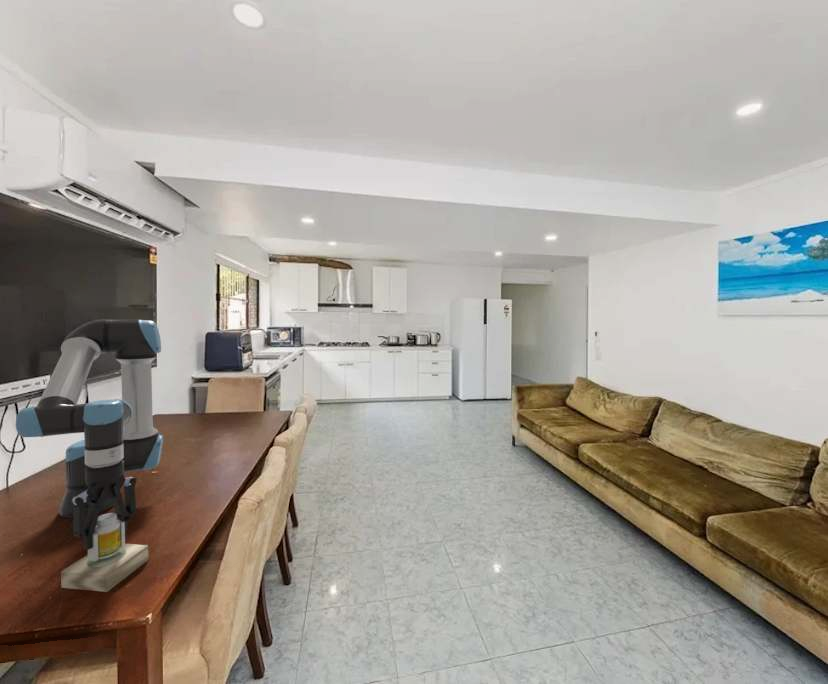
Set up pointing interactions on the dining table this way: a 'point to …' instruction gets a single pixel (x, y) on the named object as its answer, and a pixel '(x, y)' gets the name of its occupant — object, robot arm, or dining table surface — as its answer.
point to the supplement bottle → (108, 535)
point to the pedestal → (104, 569)
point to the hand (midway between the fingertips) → (107, 552)
